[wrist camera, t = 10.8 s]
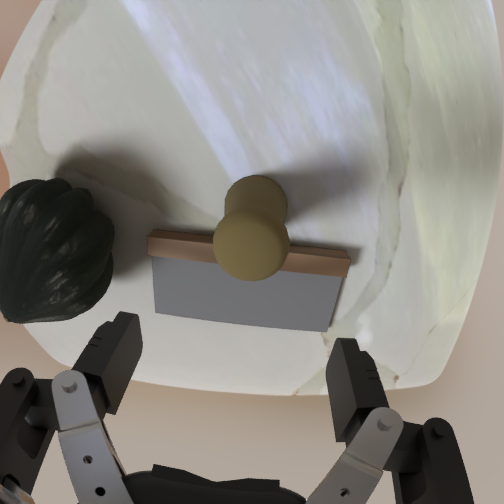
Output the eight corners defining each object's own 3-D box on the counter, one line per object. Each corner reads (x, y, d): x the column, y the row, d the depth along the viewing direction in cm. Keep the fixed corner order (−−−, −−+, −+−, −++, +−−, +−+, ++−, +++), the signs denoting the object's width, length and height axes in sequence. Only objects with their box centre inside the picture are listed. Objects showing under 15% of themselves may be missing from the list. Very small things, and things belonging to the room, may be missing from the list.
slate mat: (154, 247, 32) (151, 250, 31) (342, 268, 32) (343, 271, 31) (157, 308, 35) (155, 312, 34) (325, 327, 35) (326, 332, 34)
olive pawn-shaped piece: (239, 244, 31) (227, 306, 21) (214, 190, 29) (185, 230, 19) (296, 222, 30) (310, 277, 20) (273, 165, 28) (276, 193, 18)
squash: (41, 125, 21) (-65, 251, 14) (156, 227, 26) (54, 371, 19) (50, 184, 33) (-19, 273, 26) (131, 256, 38) (65, 351, 31)
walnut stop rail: (153, 229, 31) (147, 236, 29) (346, 251, 31) (351, 259, 29) (154, 247, 32) (147, 255, 30) (342, 268, 32) (346, 277, 30)
